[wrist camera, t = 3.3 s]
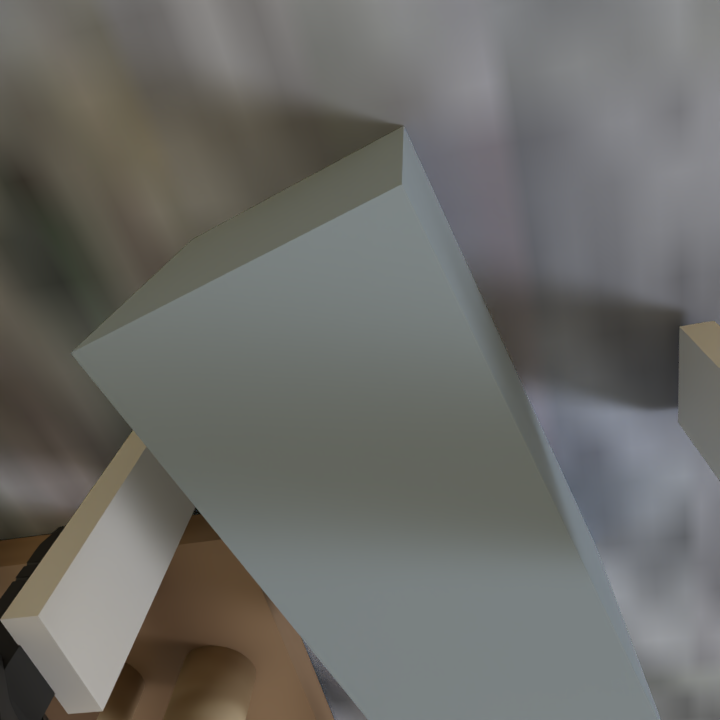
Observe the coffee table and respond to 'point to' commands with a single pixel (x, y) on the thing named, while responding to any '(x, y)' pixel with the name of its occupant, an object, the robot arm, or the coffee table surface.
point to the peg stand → (202, 644)
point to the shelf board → (373, 452)
